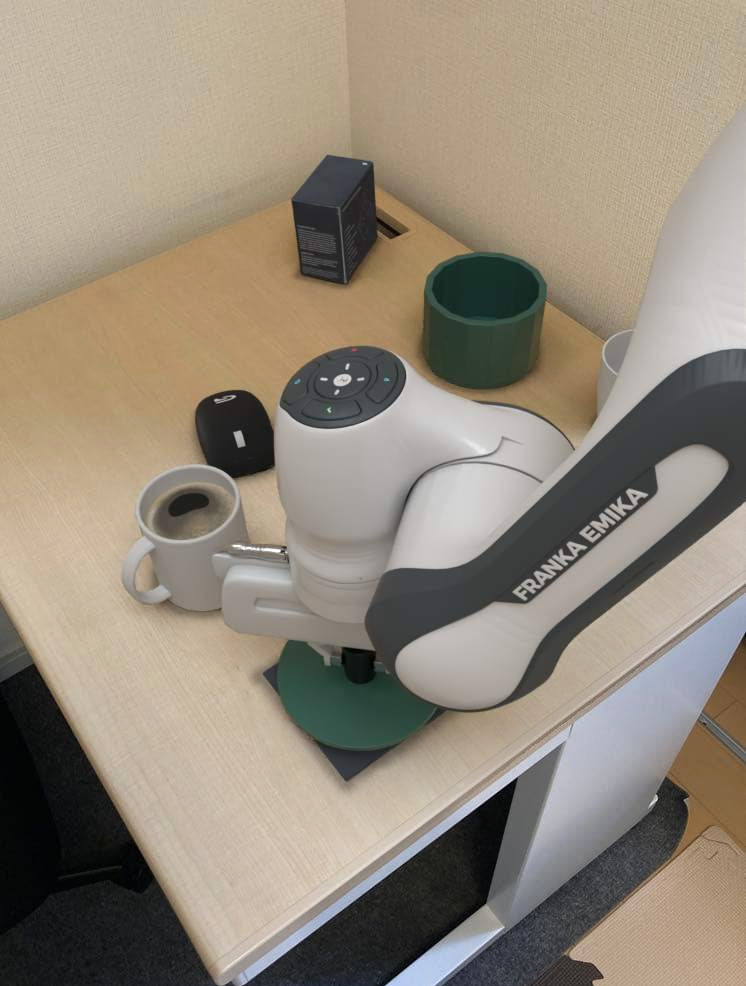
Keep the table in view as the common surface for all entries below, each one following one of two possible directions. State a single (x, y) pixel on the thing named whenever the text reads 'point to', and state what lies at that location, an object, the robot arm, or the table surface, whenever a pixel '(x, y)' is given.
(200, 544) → the mug
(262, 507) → the table surface
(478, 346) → the tin
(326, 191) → the box
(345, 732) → the tin lid
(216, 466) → the computer mouse
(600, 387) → the cup
